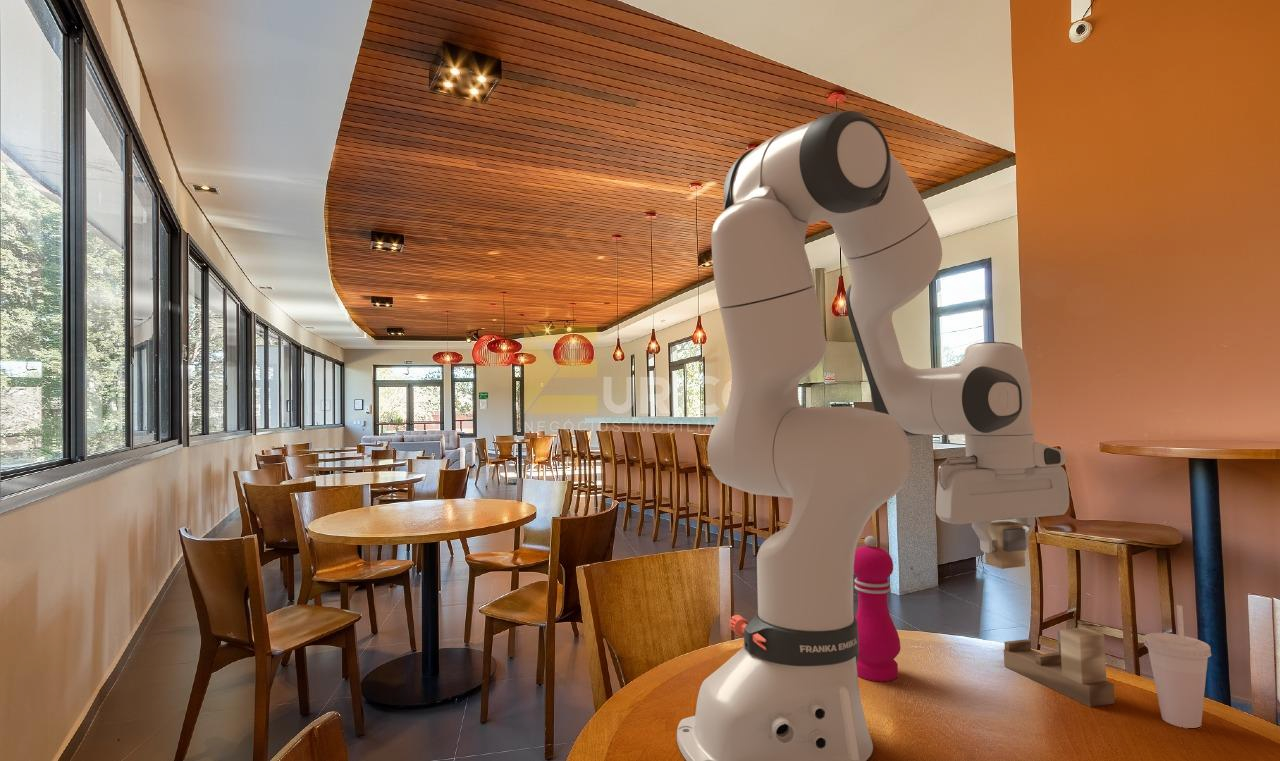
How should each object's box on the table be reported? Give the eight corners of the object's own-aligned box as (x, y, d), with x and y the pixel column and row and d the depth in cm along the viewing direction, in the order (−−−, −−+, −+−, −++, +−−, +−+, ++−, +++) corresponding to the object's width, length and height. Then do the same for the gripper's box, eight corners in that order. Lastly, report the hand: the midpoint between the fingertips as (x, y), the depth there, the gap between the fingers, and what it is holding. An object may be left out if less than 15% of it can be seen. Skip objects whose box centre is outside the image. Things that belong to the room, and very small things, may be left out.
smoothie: (1229, 736, 75) (1222, 614, 76) (1167, 731, 76) (1160, 611, 77) (1194, 711, 81) (1187, 599, 82) (1136, 707, 82) (1130, 597, 83)
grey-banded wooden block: (1006, 570, 90) (1004, 527, 90) (985, 563, 94) (983, 522, 94) (1030, 567, 91) (1027, 525, 91) (1008, 561, 94) (1006, 520, 95)
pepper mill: (893, 687, 89) (888, 542, 90) (842, 675, 94) (838, 537, 95) (907, 670, 95) (902, 534, 96) (858, 660, 99) (854, 530, 101)
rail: (1090, 707, 83) (1086, 639, 83) (1004, 666, 96) (1001, 608, 97) (1114, 703, 84) (1111, 636, 84) (1026, 663, 97) (1023, 606, 98)
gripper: (954, 459, 88) (959, 561, 87) (1075, 452, 92) (1081, 548, 92) (923, 456, 94) (928, 551, 93) (1038, 449, 99) (1043, 540, 98)
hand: (1005, 550), depth 93 cm, fingers closed on grey-banded wooden block, 4 cm apart
